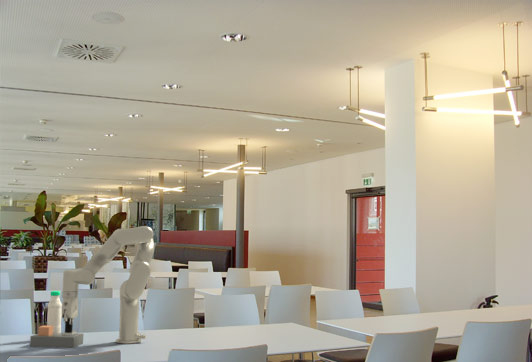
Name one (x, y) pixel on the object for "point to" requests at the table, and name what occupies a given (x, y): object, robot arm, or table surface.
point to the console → (56, 340)
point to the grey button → (69, 333)
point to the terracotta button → (45, 330)
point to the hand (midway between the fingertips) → (68, 332)
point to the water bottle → (54, 312)
